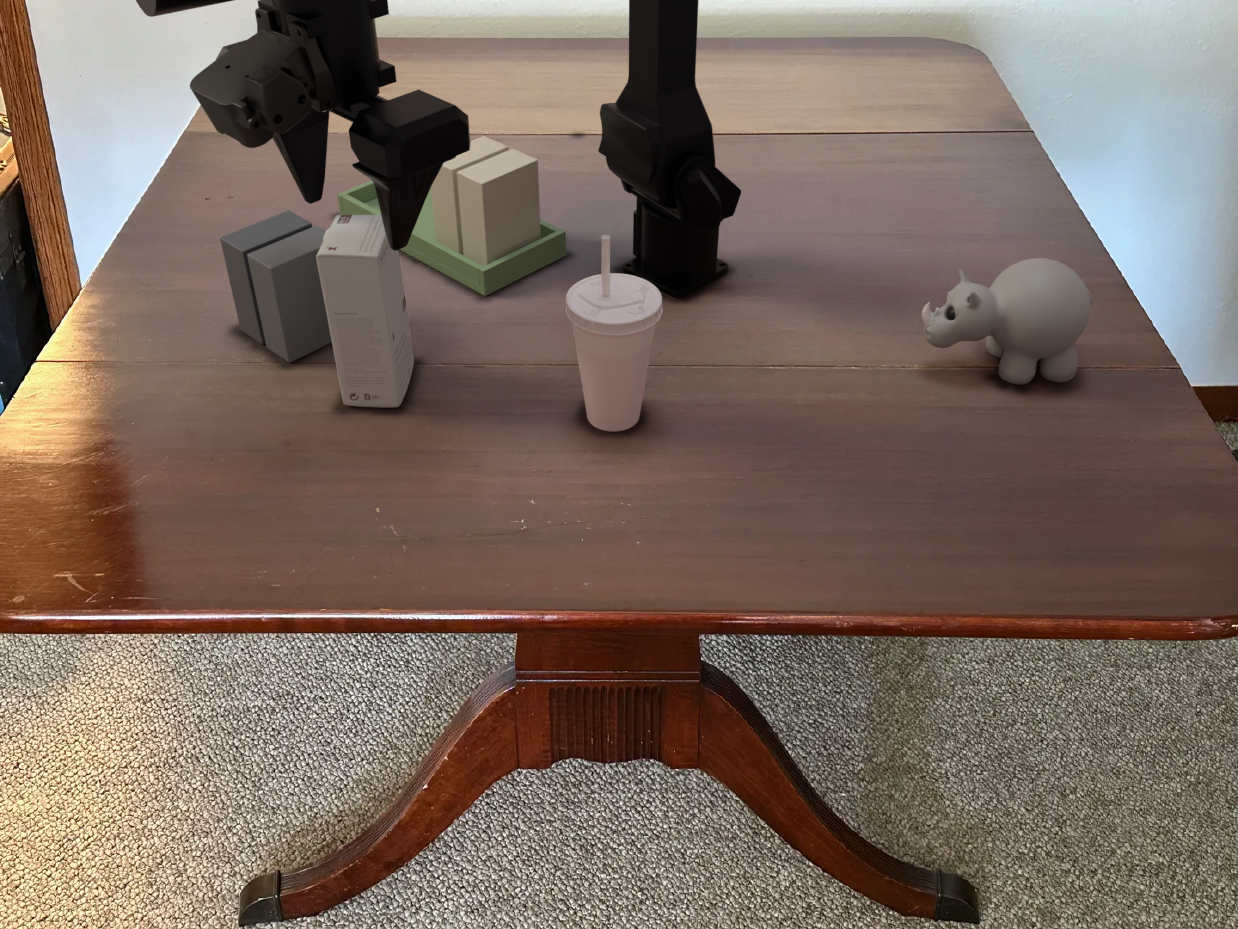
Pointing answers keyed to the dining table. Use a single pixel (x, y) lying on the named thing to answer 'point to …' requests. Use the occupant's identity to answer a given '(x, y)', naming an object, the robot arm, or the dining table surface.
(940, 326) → the toy rhinoceros
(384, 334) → the cosmetic box
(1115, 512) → the dining table surface
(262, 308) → the grey books
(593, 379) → the smoothie
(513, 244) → the cream books
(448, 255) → the green tray
